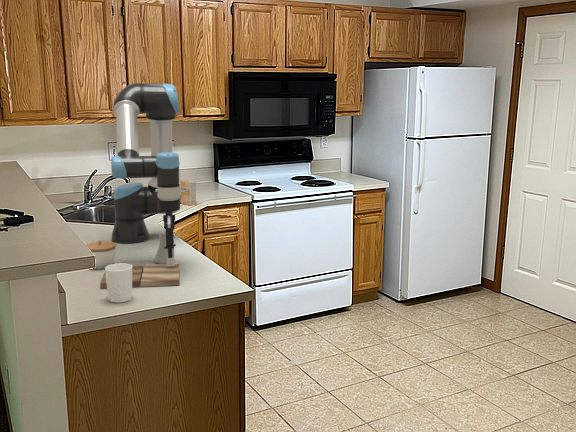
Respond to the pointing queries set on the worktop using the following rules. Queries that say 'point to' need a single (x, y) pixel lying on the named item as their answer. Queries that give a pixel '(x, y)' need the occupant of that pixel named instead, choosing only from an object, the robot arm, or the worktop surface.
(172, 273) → the oak plank
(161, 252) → the flask
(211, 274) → the worktop surface
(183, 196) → the supplement box
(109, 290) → the white cup
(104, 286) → the walnut plank
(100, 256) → the lidded jar
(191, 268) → the worktop surface
